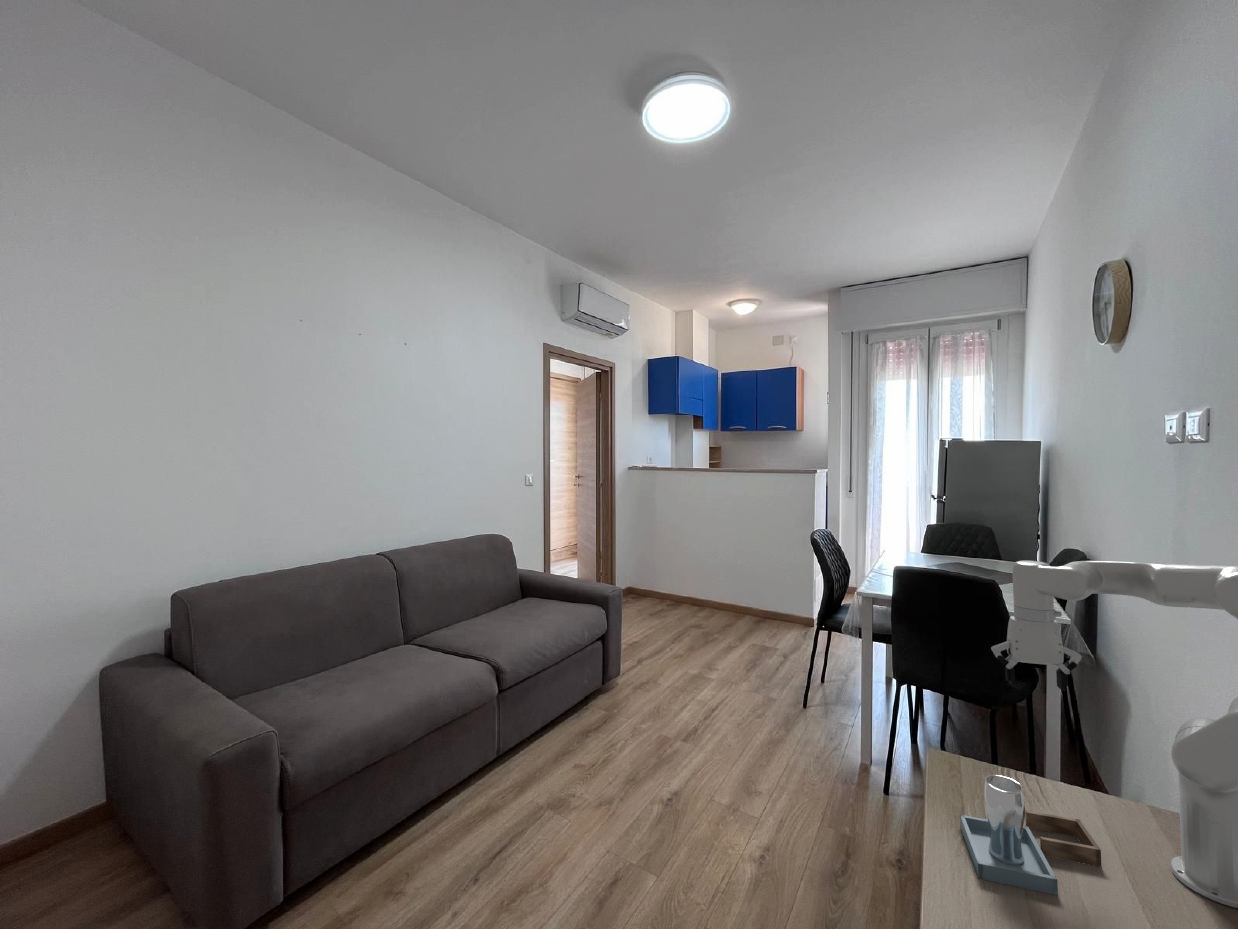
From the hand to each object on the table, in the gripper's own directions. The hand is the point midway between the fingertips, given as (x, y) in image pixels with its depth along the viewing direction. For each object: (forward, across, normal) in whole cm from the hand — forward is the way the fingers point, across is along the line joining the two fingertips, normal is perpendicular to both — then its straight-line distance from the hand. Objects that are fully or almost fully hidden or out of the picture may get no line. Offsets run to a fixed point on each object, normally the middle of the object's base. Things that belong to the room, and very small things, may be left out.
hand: (1036, 686), depth 126 cm
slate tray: (+30, +12, +19) cm, 38 cm away
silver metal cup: (+30, +12, +19) cm, 37 cm away
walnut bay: (+30, 0, +10) cm, 32 cm away
